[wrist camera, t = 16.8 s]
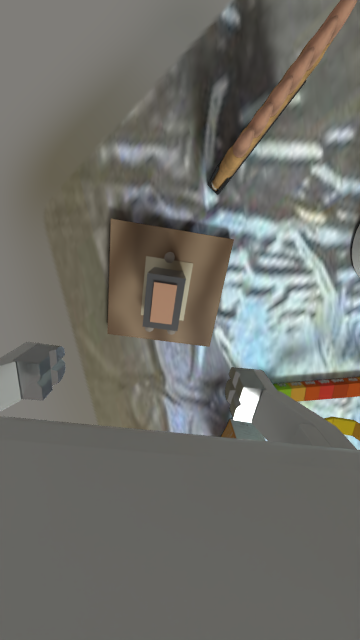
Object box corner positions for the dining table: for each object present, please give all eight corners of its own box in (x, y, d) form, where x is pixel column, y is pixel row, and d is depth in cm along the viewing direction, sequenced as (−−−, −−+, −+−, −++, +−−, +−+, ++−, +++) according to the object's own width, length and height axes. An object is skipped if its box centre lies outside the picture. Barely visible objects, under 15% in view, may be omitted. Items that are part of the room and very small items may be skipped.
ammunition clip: (217, 195, 25) (251, 152, 14) (207, 184, 25) (233, 131, 14) (280, 113, 23) (385, -21, 11) (270, 100, 22) (368, -54, 11)
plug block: (183, 271, 27) (186, 279, 20) (176, 312, 29) (177, 332, 22) (154, 266, 27) (147, 273, 20) (150, 308, 29) (142, 327, 22)
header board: (230, 240, 27) (242, 238, 22) (207, 342, 32) (213, 358, 28) (114, 220, 26) (100, 214, 21) (110, 329, 31) (99, 344, 27)
